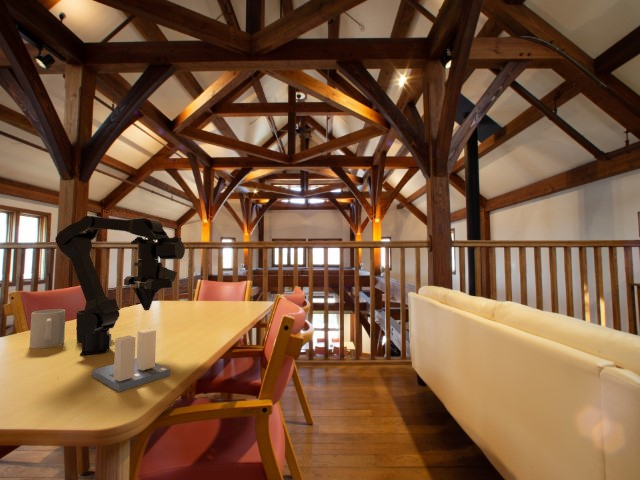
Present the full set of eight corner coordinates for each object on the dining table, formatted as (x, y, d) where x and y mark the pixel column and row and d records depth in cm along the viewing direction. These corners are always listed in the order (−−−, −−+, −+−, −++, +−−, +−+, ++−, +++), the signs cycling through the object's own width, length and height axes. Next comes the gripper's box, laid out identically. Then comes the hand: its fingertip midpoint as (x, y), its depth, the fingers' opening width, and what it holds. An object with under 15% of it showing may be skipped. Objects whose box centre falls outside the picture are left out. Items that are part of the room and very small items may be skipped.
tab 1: (113, 378, 69) (115, 338, 70) (128, 374, 72) (129, 335, 72) (119, 381, 67) (121, 340, 68) (134, 377, 70) (135, 337, 70)
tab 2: (136, 367, 75) (137, 331, 76) (148, 364, 78) (150, 328, 78) (142, 370, 74) (143, 333, 74) (154, 366, 76) (156, 330, 77)
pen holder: (89, 335, 111) (91, 308, 111) (115, 336, 111) (116, 308, 111) (67, 343, 102) (69, 313, 102) (95, 343, 101) (96, 313, 102)
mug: (29, 344, 100) (31, 310, 100) (63, 339, 105) (65, 307, 106) (28, 353, 91) (30, 316, 91) (65, 347, 97) (67, 313, 97)
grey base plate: (91, 376, 75) (92, 369, 75) (140, 362, 84) (140, 356, 84) (118, 392, 66) (119, 384, 66) (169, 375, 76) (170, 368, 76)
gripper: (189, 259, 95) (188, 309, 94) (159, 258, 105) (158, 303, 105) (152, 259, 85) (151, 315, 85) (123, 258, 96) (122, 308, 96)
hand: (146, 310), depth 93 cm, fingers closed
